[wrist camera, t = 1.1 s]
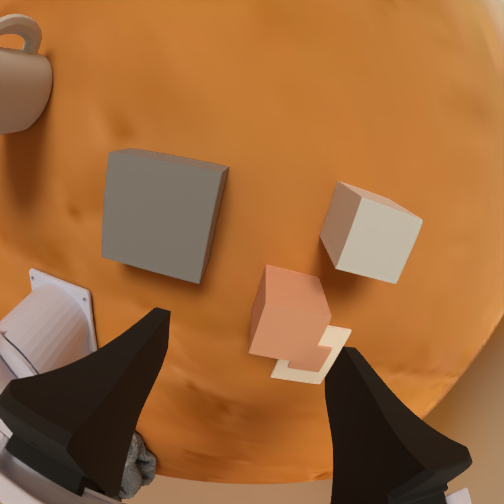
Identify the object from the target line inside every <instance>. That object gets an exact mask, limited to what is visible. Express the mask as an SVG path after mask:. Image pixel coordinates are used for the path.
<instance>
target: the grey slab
mask: <svg viewBox="0 0 504 504" xmlns="http://www.w3.org/2000/svg"><path fill="white" fill-rule="evenodd" d="M228 169H229V167H227V166H223V165H218V164H214V163H209V162H204V161H200V160H195V159H190V158H185V157H179V156H174V155H169V154H163V153H157V152H151V151H145V150H139V149H132V148H130V149H123V150H117V151H112V152H109V157H108V165H107V174H106V183H105V194H104V208H103V228H102V257H104V258H107V259H111V260H114V261H117V262H121V263H124V264H128V265H131V266H134V267H138V268H141V269H145V270H149V271H152V272H156V273H159V274H163V275H167V276H170V277H174V278H178V279H182V280H185V281H189V282H193V283H197V284H200V281H201V279H202V277H203V274H204V272H205V270H206V267H207V265H208V261H209V256H210V251H211V247H212V242H213V237H214V232H215V227H216V223H217V218H218V213H219V209H220V204H221V200H222V195H223V191H224V186H225V182H226V178H227V173H228Z"/></svg>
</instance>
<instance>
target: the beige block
mask: <svg viewBox="0 0 504 504" xmlns="http://www.w3.org/2000/svg"><path fill="white" fill-rule="evenodd" d="M422 222H423V220H422V219H421V218H419V217H418V216H416V215H414V214H413V213H411V212H410V211H408V210H406V209H405V208H403V207H402V206H400V205H398V204H397V203H395V202H393V201H392V200H390V199H388V198H385V197H383V196H380V195H377V194H374V193H372V192H369V191H366V190H363V189H360V188H358V187H355V186H352V185H349V184H346V183H343V182H340V181H338V182H337V185H336V188H335V191H334V194H333V197H332V200H331V204H330V207H329V210H328V213H327V216H326V219H325V222H324V225H323V228H322V230H321V233H320V238H321V240H322V242H323V244H324V246H325V248H326V250H327V252H328V254H329V256H330V258H331V260H332V262H333V265H334V267H335V269H338V270H342V271H346V272H350V273H354V274H358V275H362V276H366V277H370V278H374V279H378V280H382V281H386V282H390V283H394V284H396V283H397V280H398V278H399V276H400V274H401V272H402V270H403V268H404V265H405V263H406V261H407V259H408V257H409V254H410V252H411V250H412V247H413V245H414V243H415V240H416V238H417V235H418V233H419V230H420V228H421V225H422Z"/></svg>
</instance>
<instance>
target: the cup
mask: <svg viewBox="0 0 504 504" xmlns="http://www.w3.org/2000/svg"><path fill="white" fill-rule="evenodd" d="M11 33H12V34H17V35H20V36H21V37H23V38H24V40H25V41H24V46H23V48H22V50H17V49H11V48H3V47H0V135H1V134H7V133H13V132H19V131H23V130H25V129H27V128H29V127H30V126H31V125H32V124H33V123H34V122H35V121H36V120H37V119H38V118H39V117H40V115H41V114H42V112H43V111H44V109H45V106H46V104H47V102H48V99H49V96H50V93H51V88H52V82H53V76H52V69H51V65H50V62H49V61H48V59H47V58H46V57H45V56H43V55H41V54H38V53H37V52H38V50H39V47H40V44H41V40H42V35H41V29H40V27H39V26H38V24H37V23H36V21H35V20H33V19H32V18H30V17H29V16H26V15H22V14H10V15H7V16H4V17H1V18H0V35H3V34H11Z"/></svg>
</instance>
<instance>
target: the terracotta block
mask: <svg viewBox="0 0 504 504" xmlns="http://www.w3.org/2000/svg"><path fill="white" fill-rule="evenodd" d="M331 318H332V316H331V313H330V310H329V307H328V304H327V301H326V298H325V294H324V291H323V288H322V285H321V282H320V279H319V277H317V276H313V275H309V274H305V273H300V272H296V271H292V270H288V269H284V268H280V267H275V266H271V265H267V264H266V266H265V269H264V272H263V276H262V279H261V282H260V286H259V289H258V292H257V295H256V299H255V302H254V305H253V308H252V319H251V331H250V342H249V353H250V354H255V355H260V356H265V357H270V358H276V359H281V360H287V361H293V362H300V363H306V364H308V363H309V361H310V359H311V357H312V355H313V353H314V351H315V350H316V348H317V346H318V344H319V342H320V340H321V338H322V336H323V334H324V332H325V330H326V328H327V326H328V324H329V322H330V320H331Z"/></svg>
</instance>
